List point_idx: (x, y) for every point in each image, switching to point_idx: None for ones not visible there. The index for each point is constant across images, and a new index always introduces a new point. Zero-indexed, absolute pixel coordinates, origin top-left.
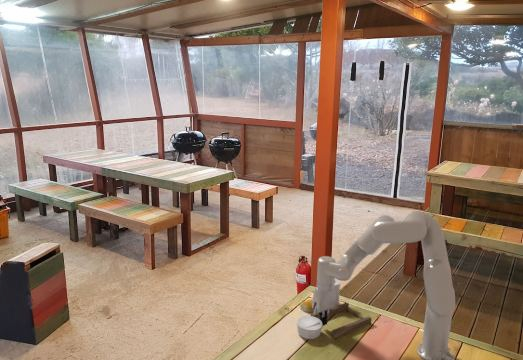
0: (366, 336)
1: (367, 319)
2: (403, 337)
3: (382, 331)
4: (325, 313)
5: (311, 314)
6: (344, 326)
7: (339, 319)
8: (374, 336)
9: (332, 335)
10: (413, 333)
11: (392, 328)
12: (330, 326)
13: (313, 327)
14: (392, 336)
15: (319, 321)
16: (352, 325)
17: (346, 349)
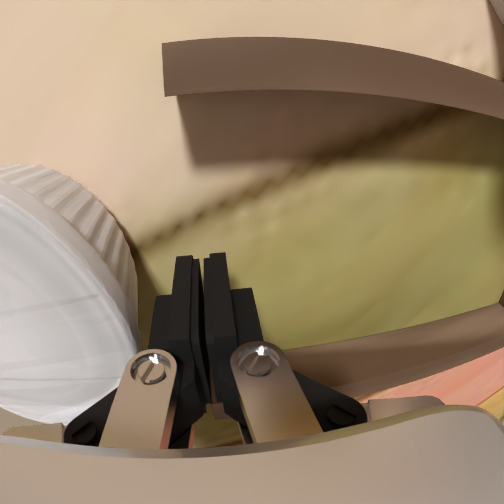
0: (390, 393)
1: (501, 347)
2: (465, 404)
3: (467, 372)
4: (238, 414)
5: (175, 42)
6: (341, 391)
7: (447, 194)
8: (413, 396)
9: (210, 370)
10: (498, 389)
11: (501, 360)
12: (302, 248)
13: (28, 390)
14: (453, 399)
15: (111, 375)
16: (398, 382)
17: (212, 440)
